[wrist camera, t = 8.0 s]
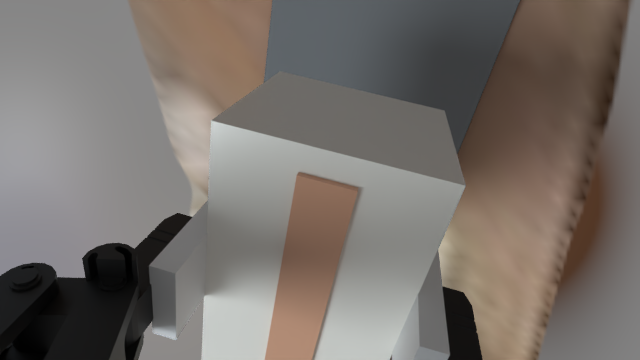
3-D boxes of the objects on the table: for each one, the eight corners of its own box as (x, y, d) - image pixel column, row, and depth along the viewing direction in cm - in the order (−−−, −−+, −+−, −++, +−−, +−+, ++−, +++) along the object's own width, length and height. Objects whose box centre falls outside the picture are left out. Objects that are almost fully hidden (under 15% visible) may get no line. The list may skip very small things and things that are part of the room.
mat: (288, -122, 19) (285, -124, 19) (547, -72, 18) (549, -73, 18) (248, 240, 31) (246, 243, 31) (403, 283, 30) (403, 287, 30)
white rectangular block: (377, 296, 19) (365, 419, 14) (255, 261, 20) (199, 366, 14) (444, 110, 14) (466, 189, 9) (279, 71, 15) (207, 122, 9)
